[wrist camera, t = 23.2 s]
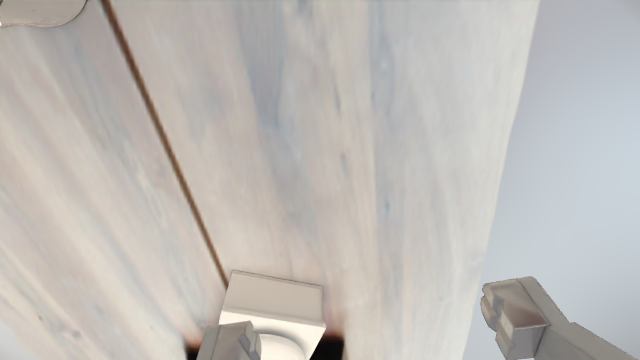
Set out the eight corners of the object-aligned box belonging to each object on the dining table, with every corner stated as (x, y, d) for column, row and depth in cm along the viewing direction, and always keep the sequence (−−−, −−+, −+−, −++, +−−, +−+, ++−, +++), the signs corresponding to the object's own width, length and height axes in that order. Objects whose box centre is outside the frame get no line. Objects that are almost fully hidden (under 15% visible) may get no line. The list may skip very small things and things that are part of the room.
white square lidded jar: (220, 324, 65) (196, 412, 52) (233, 268, 56) (208, 356, 43) (299, 336, 68) (296, 422, 55) (324, 285, 59) (328, 372, 46)
